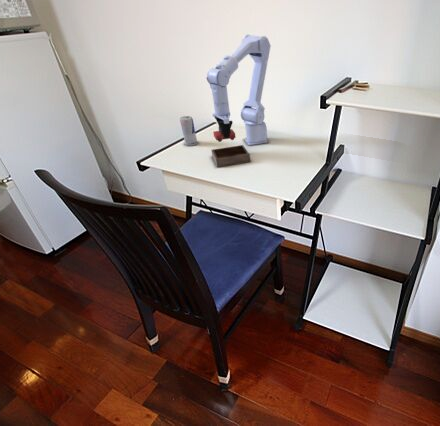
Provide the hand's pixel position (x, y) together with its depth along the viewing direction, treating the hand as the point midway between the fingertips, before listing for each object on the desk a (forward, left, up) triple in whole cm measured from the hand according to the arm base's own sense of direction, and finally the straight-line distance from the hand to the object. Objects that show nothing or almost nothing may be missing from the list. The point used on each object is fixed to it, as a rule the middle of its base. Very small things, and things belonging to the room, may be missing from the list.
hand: (225, 135), depth 127 cm
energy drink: (+13, -18, -9) cm, 24 cm away
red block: (0, -3, +1) cm, 3 cm away
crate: (0, +6, -8) cm, 10 cm away
